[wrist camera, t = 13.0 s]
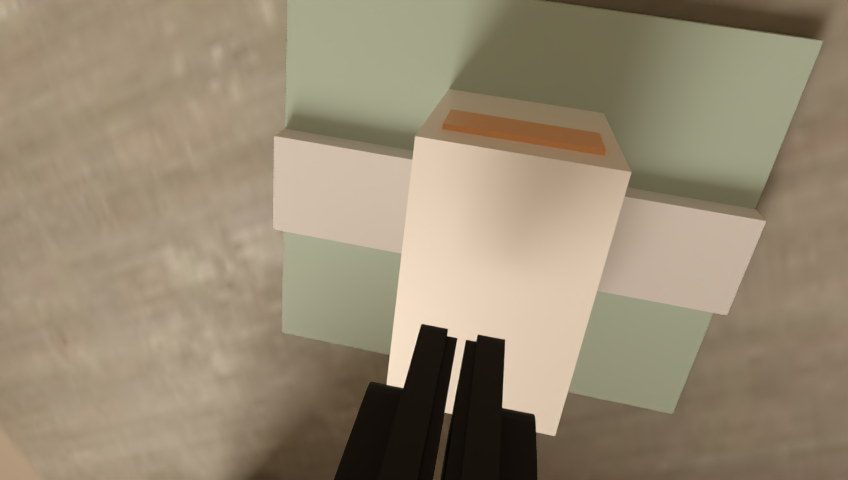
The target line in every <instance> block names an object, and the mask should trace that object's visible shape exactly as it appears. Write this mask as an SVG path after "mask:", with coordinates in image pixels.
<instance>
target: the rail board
mask: <svg viewBox="0 0 848 480" xmlns="http://www.w3.org/2000/svg"><path fill="white" fill-rule="evenodd" d="M822 43H823V41H821V40H817V39H813V38H807V37H800V36H793V35H786V34H779V33H772V32H765V31H758V30H750V29H743V28H736V27H729V26H722V25H715V24H708V23H701V22H694V21H687V20H680V19H673V18H666V17H659V16H652V15H644V14H637V13H630V12H623V11H616V10H609V9H602V8H595V7H588V6H581V5H574V4H567V3H560V2H553V1H546V0H288V15H287V70H286V125H285V129H284V130H283V131H281V132H279V133H278V134H276V135H275V136H274V202H273V229H274V230H280V231H284V236H283V291H282V333H286V334H291V335H295V336H300V337H305V338H310V339H315V340H319V341H324V342H329V343H334V344H339V345H343V346H348V347H353V348H358V349H363V350H367V351H372V352H377V353H382V354H387V355H390V350H391V341H392V333H393V324H394V315H395V307H396V298H397V289H398V280H399V272H400V263H401V254H402V246H403V237H404V228H405V220H406V211H407V202H408V193H409V185H410V176H411V167H412V159H413V150H414V141H415V136H416V134H417V133H418V131H419V130H420V129H421V127H422V126H423V124H424V123H425V122H426V120H427V119H428V117H429V116H430V115H431V113H432V112H433V110H434V109H435V108H436V106H437V105H438V103H439V102H440V101H441V99H442V98H443V96H444V95H445V94H446V92H447V91H448V89H453V90H459V91H466V92H472V93H478V94H485V95H491V96H498V97H504V98H511V99H517V100H523V101H530V102H536V103H543V104H549V105H555V106H562V107H568V108H575V109H581V110H587V111H594V112H600V113H604V115H605V117H606V119H607V121H608V123H609V125H610V127H611V129H612V132H613V134H614V136H615V138H616V140H617V142H618V144H619V146H620V149H621V151H622V153H623V155H624V157H625V159H626V161H627V163H628V166H629V168H630V170H631V176H630V179H629V183H628V186H627V190H626V193H625V196H624V200H623V203H622V207H621V210H620V214H619V217H618V221H617V224H616V228H615V231H614V234H613V238H612V241H611V245H610V248H609V252H608V255H607V259H606V262H605V265H604V269H603V272H602V276H601V279H600V283H599V286H598V290H597V293H596V297H595V300H594V303H593V307H592V310H591V314H590V317H589V321H588V324H587V328H586V331H585V334H584V338H583V341H582V345H581V348H580V352H579V355H578V359H577V362H576V366H575V369H574V372H573V376H572V379H571V383H570V386H569V390H568V392H569V393H574V394H579V395H583V396H588V397H593V398H598V399H603V400H607V401H612V402H617V403H622V404H627V405H631V406H636V407H641V408H646V409H651V410H655V411H660V412H665V413H670V414H673V412H674V410H675V407H676V405H677V402H678V400H679V397H680V395H681V392H682V390H683V387H684V385H685V382H686V380H687V377H688V375H689V372H690V370H691V367H692V365H693V363H694V360H695V358H696V355H697V353H698V350H699V348H700V345H701V343H702V340H703V338H704V335H705V333H706V330H707V328H708V325H709V323H710V320H711V318H712V315H713V313H717V314H722V315H727V314H728V312H729V309H730V307H731V305H732V302H733V300H734V297H735V295H736V293H737V290H738V288H739V285H740V283H741V281H742V278H743V276H744V273H745V271H746V269H747V266H748V264H749V261H750V259H751V257H752V254H753V252H754V249H755V247H756V245H757V242H758V240H759V237H760V235H761V233H762V230H763V228H764V225H765V223H766V220H765V219H764V218H763V217H762V216H761V215H760V214H759V213H758V211H757V210H756V206H757V204H758V202H759V199H760V197H761V194H762V192H763V189H764V187H765V184H766V182H767V179H768V177H769V174H770V172H771V169H772V167H773V164H774V162H775V159H776V157H777V154H778V152H779V150H780V147H781V145H782V142H783V140H784V137H785V135H786V132H787V130H788V127H789V125H790V122H791V120H792V117H793V115H794V112H795V110H796V107H797V105H798V102H799V100H800V98H801V95H802V93H803V90H804V88H805V85H806V83H807V80H808V78H809V75H810V73H811V70H812V68H813V65H814V63H815V60H816V58H817V55H818V53H819V50H820V48H821V46H822Z"/></svg>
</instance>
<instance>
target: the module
mask: <svg viewBox="0 0 848 480" xmlns="http://www.w3.org/2000/svg"><path fill="white" fill-rule="evenodd" d="M630 176H631V170H630V168H629V166H628V163H627V161H626V159H625V157H624V155H623V153H622V151H621V149H620V146H619V144H618V142H617V140H616V138H615V136H614V134H613V132H612V129H611V127H610V125H609V123H608V121H607V119H606V117H605V115H604V113H600V112H594V111H587V110H581V109H575V108H568V107H562V106H555V105H549V104H543V103H536V102H530V101H523V100H517V99H511V98H504V97H498V96H491V95H485V94H478V93H472V92H466V91H459V90H453V89H448V91H447V92H446V94H445V95H444V96H443V98H442V99H441V101H440V102H439V103H438V105H437V106H436V108H435V109H434V110H433V112H432V113H431V115H430V116H429V117H428V119H427V120H426V122H425V123H424V124H423V126H422V127H421V129H420V130H419V131H418V133H417V134H416V136H415V141H414V150H413V159H412V167H411V176H410V185H409V193H408V202H407V211H406V220H405V228H404V237H403V246H402V254H401V263H400V272H399V280H398V289H397V298H396V307H395V315H394V324H393V333H392V341H391V350H390V359H389V368H388V376H387V385H390V386H395V387H400V388H404V384H405V381H406V377H407V373H408V370H409V366H410V363H411V359H412V356H413V352H414V348H415V345H416V341H417V338H418V334H419V330H420V327H421V324H425V325H431V326H436V327H441V328H446V329H448V333H447V336H449V337H455V338H457V343H456V349H455V355H454V361H453V366H452V372H451V378H450V384H449V389H448V395H447V401H446V407H445V412H444V413H449V414H452V412H453V406H454V401H455V396H456V390H457V385H458V380H459V374H460V369H461V363H462V358H463V353H464V347H465V342H466V340H470V341H476V340H477V336H478V335H483V336H489V337H494V338H499V339H505V357H504V378H503V400H502V408H505V409H510V410H515V411H520V412H525V413H530V414H534V415H535V421H536V432H538V433H542V434H547V435H552V436H555V435H556V431H557V428H558V424H559V421H560V417H561V414H562V410H563V407H564V403H565V400H566V397H567V393H568V390H569V386H570V383H571V379H572V376H573V372H574V369H575V366H576V362H577V359H578V355H579V352H580V348H581V345H582V341H583V338H584V334H585V331H586V328H587V324H588V321H589V317H590V314H591V310H592V307H593V303H594V300H595V297H596V293H597V290H598V286H599V283H600V279H601V276H602V272H603V269H604V265H605V262H606V259H607V255H608V252H609V248H610V245H611V241H612V238H613V234H614V231H615V228H616V224H617V221H618V217H619V214H620V210H621V207H622V203H623V200H624V196H625V193H626V190H627V186H628V183H629V179H630Z"/></svg>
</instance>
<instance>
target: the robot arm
mask: <svg viewBox="0 0 848 480" xmlns="http://www.w3.org/2000/svg"><path fill="white" fill-rule="evenodd" d="M447 333H448V329H446V328H441V327H436V326H431V325H425V324H421V327H420V330H419V334H418V338H417V341H416V345H415V348H414V352H413V356H412V359H411V363H410V366H409V370H408V373H407V377H406V381H405V384H404V388H400V387H395V386H390V385H385V384H380V383H375V382H370V384H369V386H368V388H367V390H366V393H365V396H364V399H363V401H362V404H361V407H360V410H359V412H358V415H357V418H356V421H355V423H354V426H353V429H352V432H351V434H350V437H349V440H348V443H347V445H346V448H345V451H344V454H343V456H342V459H341V462H340V465H339V467H338V470H337V473H336V476H335V478H334V480H433V476H434V470H435V464H436V459H437V453H438V447H439V441H440V436H441V430H442V424H443V418H444V412H445V407H446V401H447V395H448V389H449V384H450V378H451V372H452V366H453V361H454V355H455V349H456V343H457V338H455V337H449V336H447ZM504 357H505V339H499V338H494V337H489V336H483V335H478V336H477V340H476V341H470V340H466V342H465V347H464V353H463V358H462V363H461V369H460V374H459V380H458V385H457V390H456V396H455V401H454V406H453V412H452V417H451V422H450V428H449V433H448V438H447V444H446V450H445V456H444V462H443V468H442V474H441V480H537V451H536V421H535V415H534V414H530V413H525V412H520V411H515V410H510V409H505V408H502V400H503V378H504Z"/></svg>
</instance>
